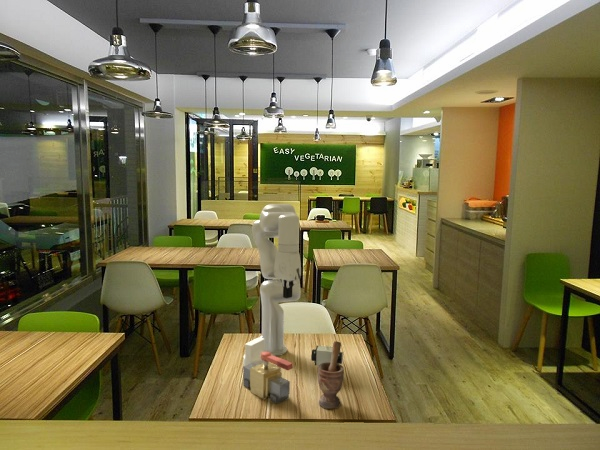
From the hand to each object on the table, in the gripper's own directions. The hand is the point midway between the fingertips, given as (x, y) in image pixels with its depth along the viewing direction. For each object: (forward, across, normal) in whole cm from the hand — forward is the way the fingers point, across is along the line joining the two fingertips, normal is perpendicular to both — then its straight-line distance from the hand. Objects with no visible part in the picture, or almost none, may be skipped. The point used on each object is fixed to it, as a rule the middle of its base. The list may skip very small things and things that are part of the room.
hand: (287, 297), depth 168 cm
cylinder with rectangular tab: (+32, -14, -4) cm, 35 cm away
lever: (+20, +7, -12) cm, 24 cm away
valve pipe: (+32, +2, -12) cm, 34 cm away
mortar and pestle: (+32, +22, 0) cm, 39 cm away
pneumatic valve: (+32, +8, +14) cm, 36 cm away
